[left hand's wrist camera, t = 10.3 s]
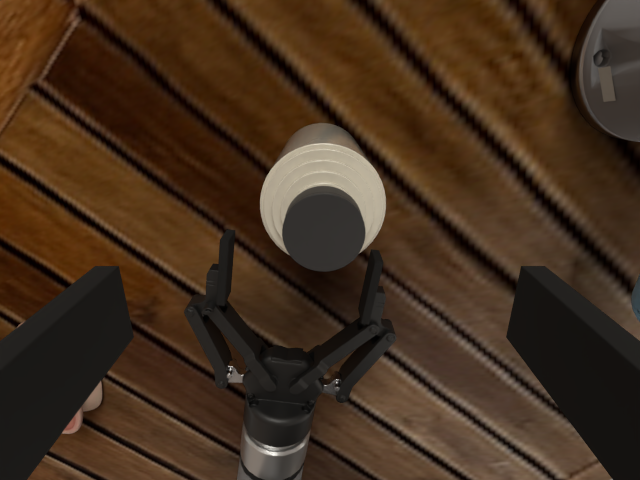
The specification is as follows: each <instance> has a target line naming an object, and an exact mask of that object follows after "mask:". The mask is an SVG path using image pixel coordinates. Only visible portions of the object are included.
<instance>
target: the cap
mask: <svg viewBox="0 0 640 480" xmlns="http://www.w3.org/2000/svg"><path fill="white" fill-rule="evenodd" d="M365 234H366V232H365V224H364V220H363V217H362V214H361V211H360V209H359V207H358V205H357V203H356V202H355V200H354V199H353V198H352V197H351V196H350V195H349V194H347V193H346V192H344V191H343V190H341V189H338V188H335V187H331V186H316V187H312V188H309V189H307V190H305V191H303V192H301V193H300V194H299V195H297V196H296V197H295V198H294V199H293V201H292V202H291V203H290V205H289V207H288V209H287V212H286V215H285V219H284V223H283V228H282V237H283V242H284V246H285V248H286V250H287V252H288V253H289V255H290V256H291V257H292V258H293V259H294V260H295V261H296V262H297V263H298V264H300V265H302V266H303V267H305V268H308V269H310V270H314V271H323V272H325V271H333V270H337V269H340V268H342V267H344V266H346V265H347V264H349V263H350V262H351V261H353V260H354V259H355V258H356V257H357V255H358V254H359V253H360V251H361V249H362V247H363V244H364V241H365Z"/></svg>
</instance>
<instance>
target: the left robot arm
mask: <svg viewBox="0 0 640 480" xmlns="http://www.w3.org/2000/svg"><path fill="white" fill-rule="evenodd" d="M571 88H572V92H573V96H574V100H575V103H576V105H577V107H578V109H579V111H580V112H581V114H582V116H583V117H584V118H585V119H586V121H587V122H588V123H589V124H590V125H591V126H593V127H594V128H595V129H597V130H598V131H600V132H602V133H603V134H606V135H608V136H611V137H614V138H618V139H624V140H630V141H636V142H640V0H598V1H597V2H596V3H595V5H594V6H593V8H592V9H591V11H590V12H589V14H588V16H587V18H586V19H585V21H584V23H583V25H582V27H581V30H580V32H579V34H578V37H577V40H576V43H575V46H574V50H573V55H572V60H571ZM631 303H632V308H633V311H634V313H635V315H636V317H637V319H638V320H639V322H640V274H639V277H638V280H637V282H636V285H635V287H634V290H633V292H632V298H631ZM133 337H134V336H133V331H132V326H131V322H130V317H129V312H128V308H127V303H126V298H125V294H124V289H123V284H122V279H121V275H120V270H119V266H95V267H94V268H92V269H91V270H90V271H89V272H87V273H86V274H85V275H83V276H82V277H81V278H80V279H78V280H77V281H76V282H75V283H73V284H72V285H71V286H70V287H68V288H67V289H66V290H64V291H63V292H62V293H61V294H59V295H58V296H57V297H56V298H54V299H53V300H52V301H51V302H49V303H48V304H47V305H45V306H44V307H43V308H42V309H40V310H39V311H38V312H37V313H35V314H34V315H33V316H32V317H30V318H29V319H28V320H26V321H25V322H24V323H23V324H21V325H20V326H19V327H18V328H16V329H15V330H14V331H13V332H11V333H10V334H9V335H7V336H6V337H5V338H4V339H2V340H1V341H0V480H27V479H28V477H29V476H30V475H31V473H32V472H33V471H34V469H35V468H36V467H37V465H38V464H39V463H40V461H41V460H42V459H43V457H44V456H45V455H46V453H47V452H48V451H49V449H50V448H51V447H52V445H53V444H54V443H55V441H56V440H57V439H58V437H59V436H60V435H61V433H62V432H63V431H64V429H65V428H66V427H67V425H68V424H69V423H70V421H71V420H72V419H73V417H74V416H75V415H76V413H77V412H78V411H79V409H80V408H81V407H82V405H83V404H84V403H85V401H86V400H87V399H88V397H89V396H90V395H91V393H92V392H93V391H94V389H95V388H96V387H97V385H98V384H99V383H100V381H101V380H102V379H103V377H104V376H105V375H106V373H107V372H108V371H109V369H110V368H111V367H112V365H113V364H114V363H115V361H116V360H117V359H118V357H119V356H120V355H121V353H122V352H123V351H124V349H125V348H126V347H127V345H128V344H129V343H130V341H131V340H132V339H133ZM506 337H507V339H508V340H509V341H510V343H511V344H512V345H513V347H514V348H515V349H516V351H517V352H518V353H519V355H520V356H521V357H522V359H523V360H524V361H525V363H526V364H527V365H528V367H529V368H530V369H531V371H532V372H533V373H534V375H535V376H536V377H537V379H538V380H539V381H540V383H541V384H542V385H543V387H544V388H545V389H546V391H547V392H548V393H549V395H550V396H551V397H552V399H553V400H554V401H555V403H556V404H557V405H558V407H559V408H560V409H561V411H562V412H563V413H564V415H565V416H566V417H567V419H568V420H569V421H570V423H571V424H572V425H573V427H574V428H575V429H576V431H577V432H578V433H579V435H580V436H581V437H582V439H583V440H584V441H585V443H586V444H587V445H588V447H589V448H590V449H591V451H592V452H593V453H594V455H595V456H596V457H597V459H598V460H599V461H600V463H601V464H602V465H603V467H604V468H605V469H606V471H607V472H608V473H609V475H610V476H611V477H612V479H613V480H640V341H639V340H638V339H636V338H635V337H634V336H633V335H631V334H630V333H629V332H627V331H626V330H625V329H624V328H622V327H621V326H620V325H619V324H617V323H616V322H615V321H614V320H612V319H611V318H610V317H608V316H607V315H606V314H605V313H603V312H602V311H601V310H600V309H598V308H597V307H596V306H595V305H593V304H592V303H591V302H589V301H588V300H587V299H586V298H584V297H583V296H582V295H581V294H579V293H578V292H577V291H576V290H574V289H573V288H572V287H570V286H569V285H568V284H567V283H565V282H564V281H563V280H562V279H560V278H559V277H558V276H557V275H555V274H554V273H553V272H551V271H550V270H549V269H548V268H546V267H545V266H521V270H520V275H519V279H518V284H517V289H516V294H515V298H514V303H513V308H512V312H511V317H510V322H509V326H508V331H507V336H506Z"/></svg>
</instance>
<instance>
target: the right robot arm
mask: <svg viewBox="0 0 640 480" xmlns="http://www.w3.org/2000/svg"><path fill="white" fill-rule="evenodd" d="M234 240H235V230H228V229H227V230H226V232H225V233H224V235H223V236H222V238H221V239H220V250H219V264H213V265H212V266H211V268H210V270H209V271H208V273H207V281H206V295H204V296H201V295H194V296H193V297H192V299H191V301H190V302H189V304H188V306H187V307H186V309H185V311H184V313H185V316H186V318H187V319H188V321H189V323H190V325H191V327H192V329H193V331H194V333H195V335H196V337H197V338H198V340H199V342H200V344H201V346H202V348H203V350H204V352H205V354H206V356H207V357H208V359H209V361H210V363H211V365H212V367H213V369H214V371H215V384H216V386H217V387H218V388H221V389H223V388H226V387H227V384H228V382H233V383H243V385H244V386H245V388H246V398H245V408H244V422H243V427H242V438H241V450H240V461H239V469H238V476H237V480H301V478H302V471H303V464H304V461H305V457H306V452H307V447H308V441H309V436H310V430H311V425H312V420H313V415H314V410H315V404H316V400H317V398H318V396H319V395H320V394H321V393H322V392H323V393H328V394H332V395H336V400H337V401H338V402H340V403H344V402H346V401H347V400H348V397H349V395H350V392H351V389H352V387H353V386H354V385H355V384H356V383H357V382H358V381H359V379H360V378H361V377H362V376H363V375H364V374H365V373H366V372H367V371H368V370H369V369H370V368H371V367H372V365H373V364H374V363H375V362H376V361H377V360H378V359H379V358H380V357H381V356H382V355H383V354H384V353H385V351H386V350H387V349H388V348H389V347H390V346H391V345H392V344H393V343H394V342H395V340H396V335H395V332H394V328H393V325H392V322H391V321H390V320H388V319H382V318H381V316H382V312H383V307H384V303H385V300H386V297H385V293H384V290H383V286H378V283H379V279H380V275H381V271H382V266H383V260H382V258H381V255H380V252H379V251H378V250H371V253H370V257H369V262H368V266H367V271H366V276H365V280H364V285H363V289H362V294H361V299H360V303H359V308H358V309H359V314H360V318H358V319H357V320H355V321H354V322H353V323H351V324H350V325H348V326H347V327H346V328H344V329H343V330H342V331H340V332H339V333H337V334H336V335H335V336H333V337H332V338H331V339H329V340H328V341H326V342H325V343H324V344H322V345H321V346H320V345H317V346H315V347H314V348H313V349H311V350H310V351H309V352H307V353H306V352H304V351H303V349H302V348H285V347H282V346H277V345H274V346H273V347H271V348H268V347H267V345H266V344H265V343H264V342H263V341H262V339H261V338H257V337H256V336H255V334H254V333H253V332H252V331H251V329H250V328H249V327H248V326H247V325H246V323H245V322H244V321H243V320H242V318H241V317H240V316H239V315H238V313H237V312H236V311H235V310H234V308H233V307H232V306H231V305H230V304H229V302H228V301H227V299H228V296H229V294H230V292H231V280H232V267H233V253H234ZM219 329H220V330H219ZM220 331H221V332H222V333H223V334H224V335H225V336H226V338H227V339H228V340H229V341H230V342H231V344H232V345H233V346H234V347H235V348H236V349H237V351H238V352H239V353H240V354H241V355H242V357H243V358H244V362H245V364H246V366H247V367H246V368H245V369H241V368H240V367H239V366H238V364H237V362H236V359H232V357H231V352H230V350H229V348H228V346H227V344H226V342H225V340H224V338H223V336H222V334H221V332H220ZM355 349H356V350H355ZM354 350H355V351H354ZM352 351H354V352H353V354H352V355H351V356H350V357H349V358H348V359H347V360H346V361H345V363H344V364H343V365H342V366H341V368H340V370H339V372H337V371H335V372H334V374H333V375H332V376H331V378H329V379H324V378H323V375H325V374H326V372H327V370H328V369H329V368H330V367H331V366H332V365H334V364H335V363H337V362H338V361H340V360H341V359H342V358H344V357H345V356H347V355H348V354H350V353H351V352H352Z"/></svg>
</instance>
